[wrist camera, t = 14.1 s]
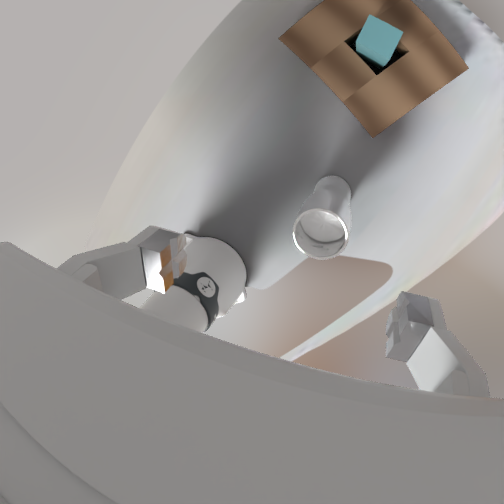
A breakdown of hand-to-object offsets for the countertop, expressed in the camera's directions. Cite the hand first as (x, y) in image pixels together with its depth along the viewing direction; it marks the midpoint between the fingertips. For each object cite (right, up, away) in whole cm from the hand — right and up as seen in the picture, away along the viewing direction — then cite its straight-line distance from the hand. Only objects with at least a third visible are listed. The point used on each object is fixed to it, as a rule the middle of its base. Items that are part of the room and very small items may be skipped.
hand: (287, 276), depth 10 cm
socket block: (+16, +29, +21) cm, 39 cm away
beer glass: (+12, +10, +35) cm, 38 cm away
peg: (+16, +29, +21) cm, 39 cm away
